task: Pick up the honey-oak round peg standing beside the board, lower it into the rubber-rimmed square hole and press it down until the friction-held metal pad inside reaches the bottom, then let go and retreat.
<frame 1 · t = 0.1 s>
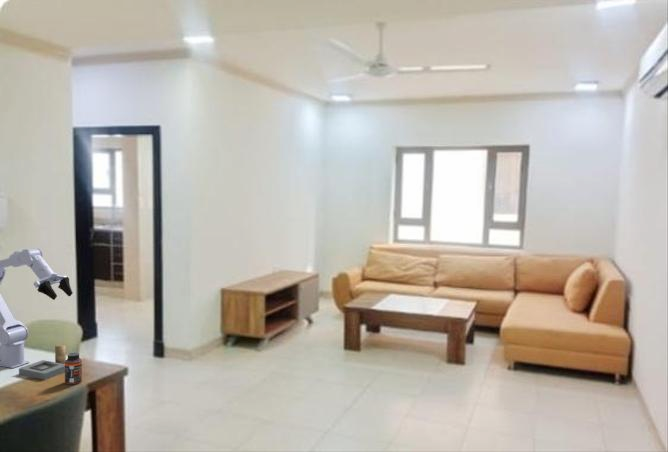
hand: (63, 296, 212), 32 cm above the table, tool tilted 50°, fingers open, 7 cm apart
supplement bottle: (73, 383, 206), on the table
pad: (43, 368, 216), point 2 cm above the table, slide at 0.0 cm
peg: (60, 364, 226), on the table
board: (43, 372, 216), on the table
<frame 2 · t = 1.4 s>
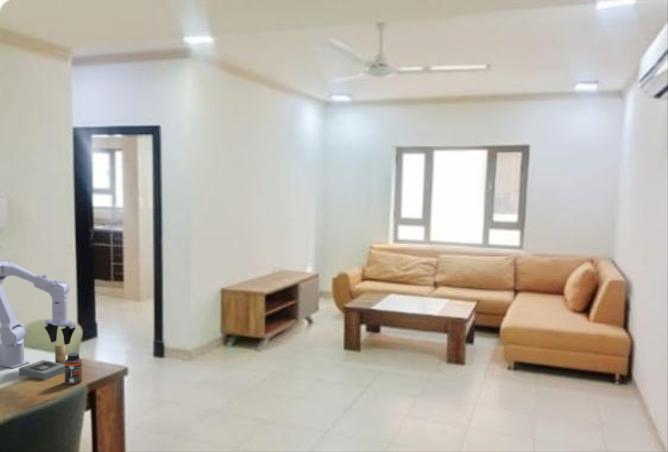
hand: (60, 342, 225), 9 cm above the table, tool pointing down, fingers open, 7 cm apart
nothing on the table moved.
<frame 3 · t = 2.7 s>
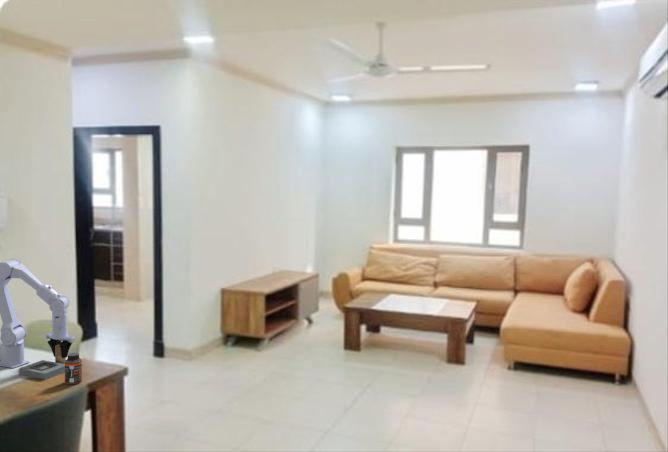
hand: (60, 356, 226), 3 cm above the table, tool pointing down, fingers closed on peg, 4 cm apart
peg: (60, 364, 226), on the table, touching gripper
everything else where it was.
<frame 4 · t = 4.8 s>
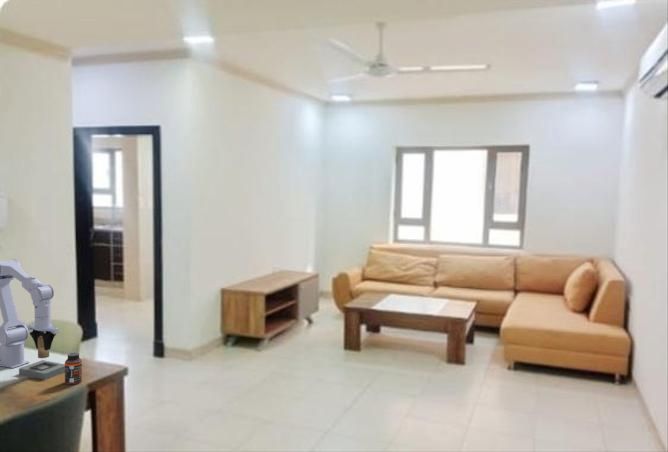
hand: (43, 348, 215), 10 cm above the table, tool pointing down, fingers closed on peg, 4 cm apart
peg: (43, 356, 215), point 7 cm above the table, touching gripper
everything else where it was.
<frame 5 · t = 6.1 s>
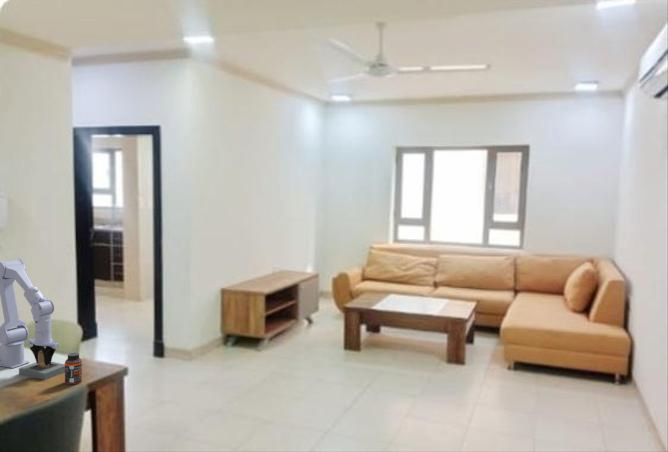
hand: (43, 363, 216), 4 cm above the table, tool pointing down, fingers closed on peg, 4 cm apart
pad: (43, 371, 216), resting in board, slide at 1.5 cm, touching peg
peg: (43, 371, 216), point 1 cm above the table, touching gripper, pad
everything else where it was.
when the fingers open (4 cm above the table, at t = 7.4 s): peg stays where it is, resting on pad.
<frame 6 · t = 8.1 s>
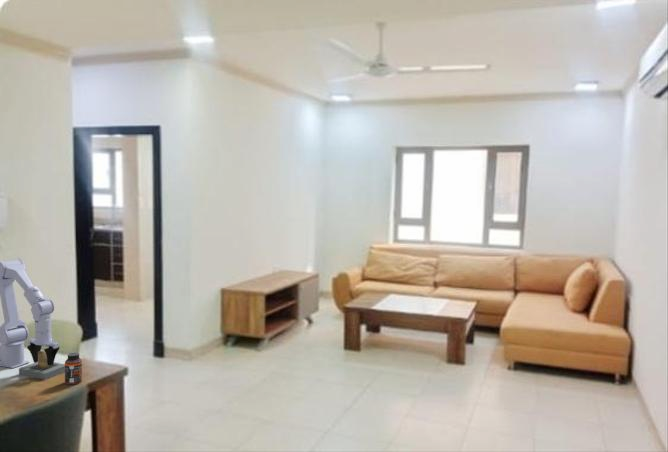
hand: (43, 363, 216), 4 cm above the table, tool pointing down, fingers open, 7 cm apart
peg: (43, 371, 216), point 1 cm above the table, touching pad
everything else where it was.
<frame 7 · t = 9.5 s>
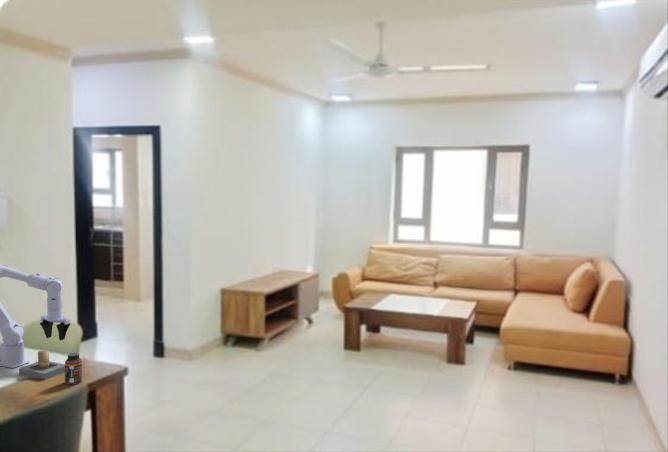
hand: (55, 338, 229), 10 cm above the table, tool pointing down, fingers open, 7 cm apart
nothing on the table moved.
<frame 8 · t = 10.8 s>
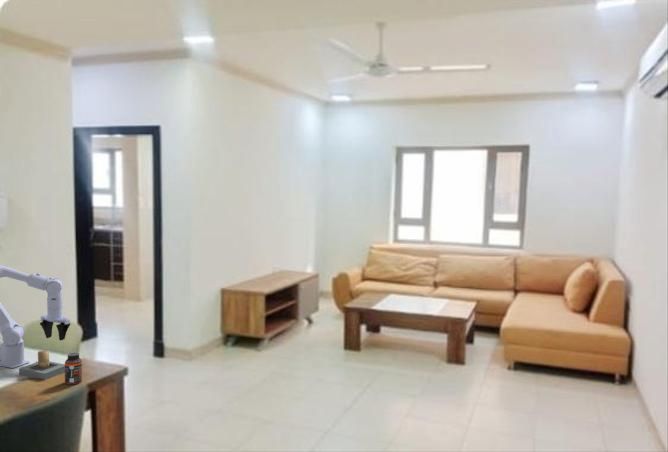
hand: (55, 338, 229), 10 cm above the table, tool pointing down, fingers open, 7 cm apart
nothing on the table moved.
at the end: peg 0.0 cm off-centre on the board, point 0.6 cm above the board's base; pad slide at 1.5 cm; the gripper is holding nothing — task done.
